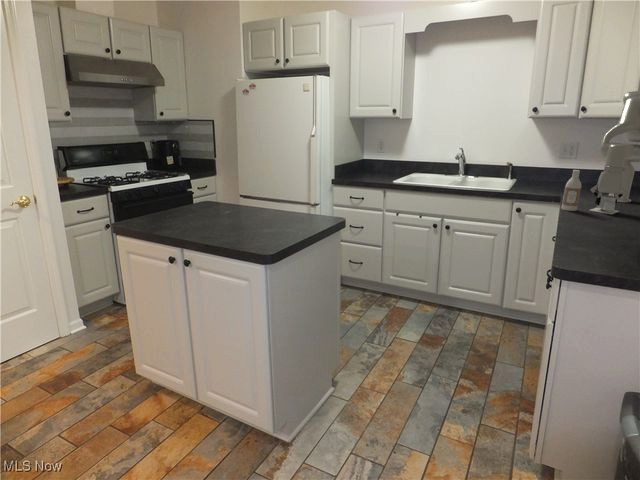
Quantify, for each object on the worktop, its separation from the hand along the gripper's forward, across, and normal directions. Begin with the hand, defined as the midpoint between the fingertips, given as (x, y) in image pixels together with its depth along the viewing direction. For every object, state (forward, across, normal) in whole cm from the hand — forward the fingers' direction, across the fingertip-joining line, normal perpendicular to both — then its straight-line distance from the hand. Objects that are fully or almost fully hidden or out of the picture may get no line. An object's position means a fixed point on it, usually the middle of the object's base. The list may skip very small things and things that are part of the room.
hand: (605, 205), depth 216 cm
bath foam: (+3, +16, +4) cm, 17 cm away
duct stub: (+3, 0, 0) cm, 3 cm away
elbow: (+1, 0, +3) cm, 3 cm away
